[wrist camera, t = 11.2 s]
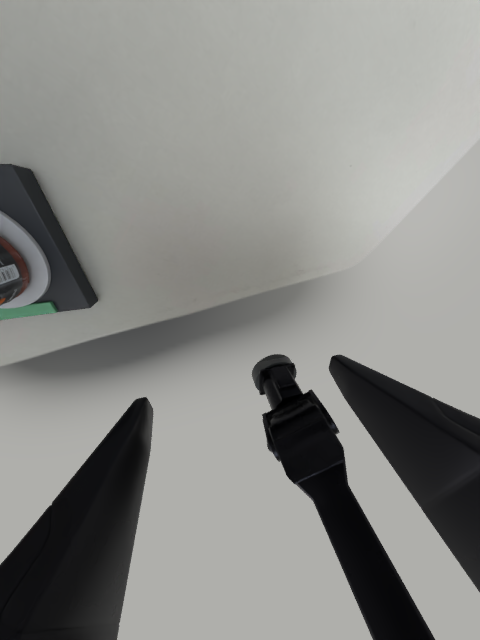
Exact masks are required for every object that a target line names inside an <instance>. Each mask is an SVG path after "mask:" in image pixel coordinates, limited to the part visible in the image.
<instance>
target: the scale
mask: <svg viewBox="0 0 480 640" xmlns="http://www.w3.org/2000/svg"><path fill="white" fill-rule="evenodd" d="M0 236H1V237H2V238H4V239H5V240H6V241H7V242H9V243H10V244H11V245H12V247H14V248H15V249H16V250H17V251H18V252H19V254H20V255H21V257H22V258H23V260H24V262H25V263H26V266H27V269H28V272H29V283H28V285H27V288H26V289H25V290H24V292H23V293H22V294H20V295H19V296H18V297H16V298H14V299H13V300H11V301H10V302H8V303H5V304H3V305H1V306H0V320H3V319H11V318H19V317H26V316H34V315H42V314H49V313H56V312H62V311H70V310H77V309H85V308H91V307H92V306H93V305H94V304H95V303H96V302H97V301H98V299H97V297H96V295H95V294H94V292H93V290H92V288H91V286H90V284H89V282H88V280H87V278H86V276H85V274H84V272H83V270H82V268H81V266H80V264H79V262H78V260H77V258H76V257H75V255H74V253H73V251H72V249H71V247H70V245H69V243H68V241H67V239H66V237H65V235H64V233H63V231H62V229H61V227H60V225H59V223H58V221H57V220H56V218H55V216H54V214H53V212H52V210H51V208H50V206H49V204H48V202H47V200H46V198H45V196H44V194H43V192H42V190H41V188H40V186H39V184H38V183H37V181H36V179H35V177H34V175H33V173H32V171H31V170H30V169H27V168H23V167H20V166H16V165H12V164H0Z"/></svg>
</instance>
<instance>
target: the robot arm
mask: <svg viewBox="0 0 480 640" xmlns="http://www.w3.org/2000/svg"><path fill="white" fill-rule="evenodd" d="M294 370H295V365H294V363H289V364H285V365H280V366H275V367H270V368H265V369H261V370H260V371H259V393H260V395H264V394H266V396H267V399H268V401H269V404H270V406H271V409H272V410H271V411H270V412H268V413H264V414H263V415H262V416H263V423H264V428H265V432H266V437H267V447H268V449H269V450H270V451H271V452H273V454H274V455H275V457H276V459H277V460H278V461H281V463H282V465H283V467H284V470H285V472H286V475H287V476H288V478H289V479H290V480H291V481H292V482H293V483H294V484H296V485H297V486H298V487H299V488H300V489H302V491H304V493H306V494H307V495H308V496H309V497H310V498H311V499H312V500H313V502H314V504H315V506H316V509H317V511H318V513H319V515H320V518H321V520H322V522H323V525H324V527H325V529H326V532H327V534H328V536H329V539H330V541H331V543H332V546H333V548H334V550H335V553H336V555H337V557H338V559H339V561H340V564H341V566H342V569H343V571H344V573H345V575H346V578H347V580H348V582H349V585H350V587H351V590H352V592H353V594H354V596H355V599H356V601H357V603H358V606H359V608H360V610H361V613H362V615H363V617H364V620H365V622H366V624H367V626H368V629H369V631H370V634H371V636H372V638H373V640H435V639H434V637H433V635H432V633H431V631H430V630H429V628H428V626H427V624H426V622H425V621H424V619H423V617H422V615H421V614H420V612H419V610H418V609H417V607H416V605H415V603H414V601H413V599H412V598H411V596H410V594H409V592H408V590H407V589H406V587H405V585H404V583H403V582H402V580H401V578H400V576H399V574H398V573H397V571H396V569H395V567H394V566H393V564H392V562H391V560H390V558H389V557H388V555H387V553H386V551H385V550H384V548H383V546H382V544H381V543H380V541H379V539H378V537H377V535H376V534H375V532H374V530H373V528H372V527H371V525H370V523H369V521H368V519H367V518H366V516H365V514H364V512H363V510H362V509H361V507H360V505H359V503H358V502H357V500H356V498H355V496H354V494H353V493H352V491H351V489H350V487H349V486H348V481H347V473H346V465H345V457H344V450H343V447H342V445H341V443H340V441H339V440H338V438H337V436H336V435H335V434H338V433H339V430H338V428H337V427H336V425H335V423H334V421H333V420H332V418H331V416H330V415H329V413H328V412H327V410H326V409H325V407H324V406H323V405H322V403H321V402H320V401H319V399H318V398H317V396H316V395H315V394H314V392H313V391H312V390H309V392H307V393H305V394H303V393H302V391H301V389H300V388H299V386H298V384H297V383H296V381H295V379H294V378H293V376H294ZM329 371H330V373H331V375H332V377H333V378H334V380H335V382H336V384H337V386H338V387H339V389H340V391H341V393H342V394H343V396H344V398H345V399H346V401H347V402H348V404H349V405H350V406H351V408H352V410H353V411H354V412H355V414H356V415H357V417H358V418H359V420H360V421H361V423H362V424H363V425H364V427H365V428H366V430H367V431H368V433H369V434H370V435H371V437H372V438H373V440H374V441H375V443H376V444H377V445H378V447H379V448H380V450H381V451H382V453H383V454H384V456H385V457H386V458H387V460H388V461H389V463H390V464H391V466H392V467H393V468H394V470H395V471H396V473H397V474H398V476H399V477H400V478H401V480H402V481H403V483H404V484H405V486H406V487H407V489H408V490H409V491H410V493H411V494H412V495H413V497H414V498H415V500H416V501H417V503H418V504H419V506H420V507H421V508H422V510H423V512H424V513H425V514H426V516H427V517H428V519H429V520H430V522H431V523H432V525H433V526H434V527H435V529H436V530H437V532H438V533H439V535H440V536H441V538H442V539H443V540H444V542H445V543H446V545H447V546H448V548H449V549H450V550H451V552H452V553H453V555H454V556H455V558H456V559H457V560H458V562H459V563H460V565H461V566H462V568H463V569H464V570H465V572H466V573H467V575H468V576H469V577H470V579H471V580H472V582H473V583H474V585H475V586H476V587H477V589H478V591H479V592H480V419H479V418H477V417H474V416H472V415H469V414H467V413H465V412H463V411H461V410H458V409H456V408H454V407H452V406H450V405H447V404H445V403H443V402H441V401H439V400H437V399H435V398H431V397H430V396H428V395H426V394H424V393H421V392H419V391H417V390H415V389H413V388H410V387H409V386H406V385H404V384H402V383H400V382H398V381H396V380H394V379H392V378H389V377H387V376H385V375H383V374H381V373H379V372H377V371H375V370H372V369H370V368H368V367H366V366H364V365H361V364H360V363H357V362H355V361H353V360H351V359H349V358H347V357H345V356H342V355H336V356H332V358H331V361H330V365H329ZM152 423H153V408H152V406H151V404H150V402H149V401H148V399H147V398H146V397H143V398H139V399H136V400H135V401H134V402H133V403H132V405H131V406H130V407H129V408H128V409H127V411H126V412H125V413H124V414H123V416H122V417H121V418H120V419H119V421H118V422H117V423H116V424H115V426H114V427H113V428H112V429H111V430H110V432H109V433H108V434H107V435H106V437H105V438H104V439H103V440H102V442H101V443H100V444H99V445H98V447H97V448H96V449H95V450H94V452H93V453H92V454H91V455H90V456H89V458H88V459H87V460H86V461H85V463H84V464H83V465H82V466H81V468H80V469H79V470H78V471H77V473H76V474H75V475H74V476H73V477H72V479H71V480H70V481H69V482H68V484H67V485H66V486H65V487H64V489H63V490H62V491H61V492H60V494H59V495H58V496H57V497H56V498H55V500H54V501H53V502H52V505H51V506H49V507H48V508H47V509H46V511H45V512H44V513H43V515H42V516H41V517H40V518H39V519H38V521H37V522H36V523H35V524H34V525H33V527H32V528H31V529H30V530H29V531H28V533H27V534H26V535H25V536H24V538H23V539H22V540H21V541H20V542H19V544H18V545H17V546H16V547H15V548H14V550H13V551H12V552H11V553H10V554H9V555H8V556H7V558H6V559H5V560H4V561H3V562H2V563H1V565H0V640H117V635H118V630H119V622H120V618H121V612H122V606H123V601H124V596H125V590H126V585H127V579H128V573H129V567H130V562H131V557H132V551H133V546H134V540H135V534H136V529H137V523H138V518H139V512H140V506H141V501H142V495H143V490H144V484H145V478H146V473H147V467H148V462H149V456H150V449H151V437H152Z"/></svg>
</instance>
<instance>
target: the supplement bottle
mask: <svg viewBox="0 0 480 640" xmlns="http://www.w3.org/2000/svg"><path fill="white" fill-rule="evenodd" d="M28 283H29V272H28V269H27V266H26V263H25V262H24V260H23V258H22V257H21V255H20V254H19V252H18V251H17V250H16V249H15V248H14V247H12V245H11V244H10V243H9V242H7V241H6V240H5V239H4V238H2V237H1V236H0V306H1V305H3V304H5V303H8V302H10V301H11V300H13V299H14V298H16V297H18V296H19V295H20V294H22V293H23V292H24V290H25V289H26V288H27V285H28Z"/></svg>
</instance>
